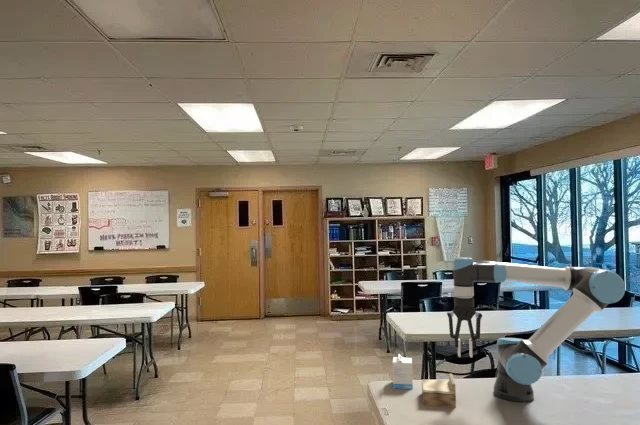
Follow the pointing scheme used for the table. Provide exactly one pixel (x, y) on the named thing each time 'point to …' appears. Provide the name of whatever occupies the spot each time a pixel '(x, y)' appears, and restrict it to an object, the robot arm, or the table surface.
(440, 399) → the box
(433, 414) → the table surface
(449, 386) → the lid
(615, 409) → the table surface
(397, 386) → the ink box
